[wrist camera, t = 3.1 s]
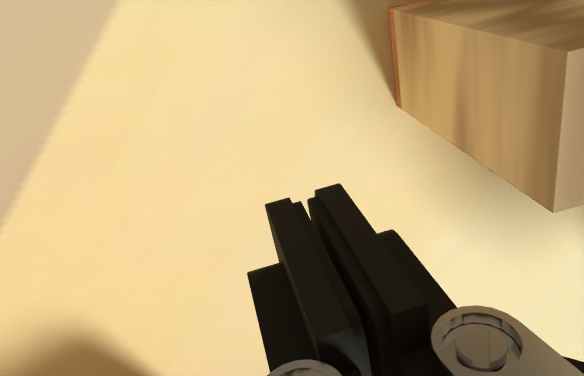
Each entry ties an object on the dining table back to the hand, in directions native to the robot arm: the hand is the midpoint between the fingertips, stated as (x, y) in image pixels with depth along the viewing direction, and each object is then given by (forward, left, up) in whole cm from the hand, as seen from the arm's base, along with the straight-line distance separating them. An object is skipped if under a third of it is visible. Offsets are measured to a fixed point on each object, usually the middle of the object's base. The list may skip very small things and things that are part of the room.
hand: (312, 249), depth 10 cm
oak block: (-10, 0, -14) cm, 18 cm away
